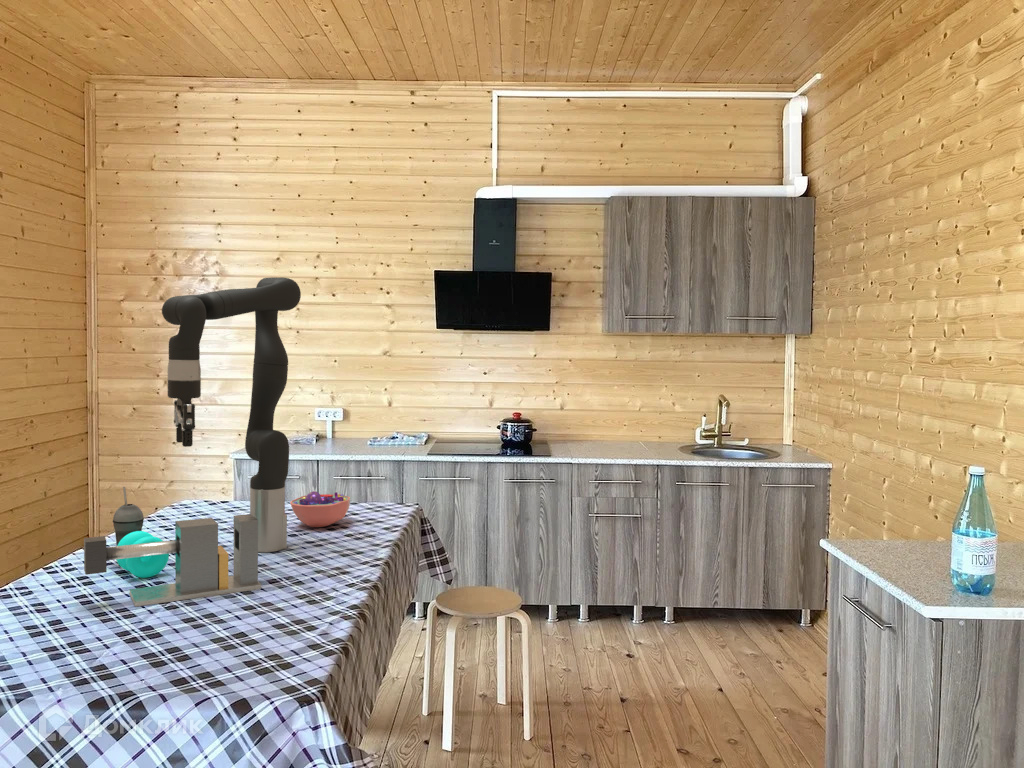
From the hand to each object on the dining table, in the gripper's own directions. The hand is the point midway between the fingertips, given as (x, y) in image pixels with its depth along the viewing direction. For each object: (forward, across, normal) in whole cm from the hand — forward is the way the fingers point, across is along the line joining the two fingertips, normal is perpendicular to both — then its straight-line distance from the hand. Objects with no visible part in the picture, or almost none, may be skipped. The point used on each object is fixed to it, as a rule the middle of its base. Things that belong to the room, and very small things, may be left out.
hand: (184, 444), depth 196 cm
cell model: (+32, +34, -46) cm, 66 cm away
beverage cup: (+32, +14, +11) cm, 37 cm away
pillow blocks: (+32, -16, 0) cm, 36 cm away
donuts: (+32, +4, +9) cm, 34 cm away
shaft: (+25, -16, +10) cm, 31 cm away
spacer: (+31, -16, -5) cm, 35 cm away
